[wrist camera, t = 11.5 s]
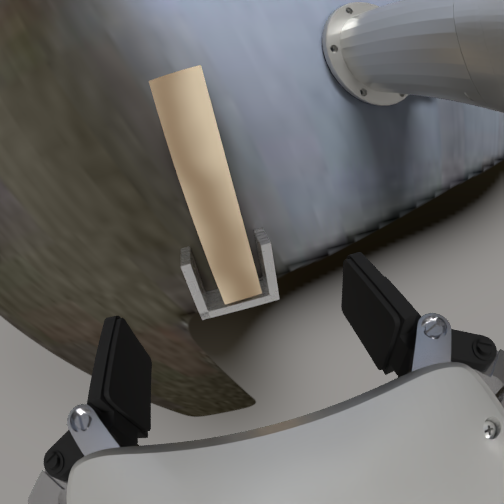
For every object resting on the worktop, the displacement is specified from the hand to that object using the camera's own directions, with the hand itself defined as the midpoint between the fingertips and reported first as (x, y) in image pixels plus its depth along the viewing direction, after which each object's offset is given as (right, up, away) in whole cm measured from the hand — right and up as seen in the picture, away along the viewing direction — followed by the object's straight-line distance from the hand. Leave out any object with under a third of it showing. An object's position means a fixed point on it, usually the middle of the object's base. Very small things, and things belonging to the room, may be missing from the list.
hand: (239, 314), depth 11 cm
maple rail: (-4, +9, +16) cm, 18 cm away
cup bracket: (-2, +2, +20) cm, 20 cm away
